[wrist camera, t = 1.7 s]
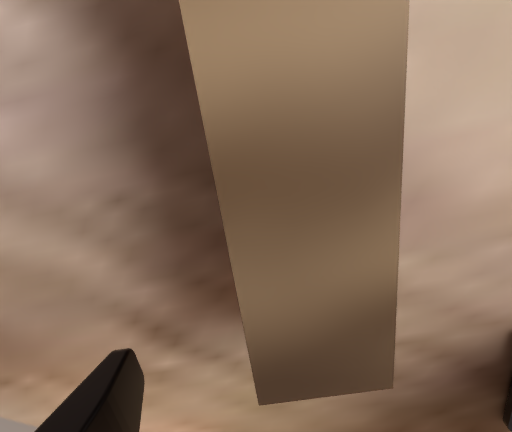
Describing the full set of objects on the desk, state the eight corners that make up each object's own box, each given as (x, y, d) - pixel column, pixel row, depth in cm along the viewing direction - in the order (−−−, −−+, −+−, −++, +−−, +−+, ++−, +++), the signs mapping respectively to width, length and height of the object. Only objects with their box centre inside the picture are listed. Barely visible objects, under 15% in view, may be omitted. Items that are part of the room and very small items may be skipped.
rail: (351, 292, 15) (393, 388, 11) (253, 305, 15) (258, 405, 11) (340, -180, 9) (423, -347, 5) (172, -153, 9) (120, -295, 5)
